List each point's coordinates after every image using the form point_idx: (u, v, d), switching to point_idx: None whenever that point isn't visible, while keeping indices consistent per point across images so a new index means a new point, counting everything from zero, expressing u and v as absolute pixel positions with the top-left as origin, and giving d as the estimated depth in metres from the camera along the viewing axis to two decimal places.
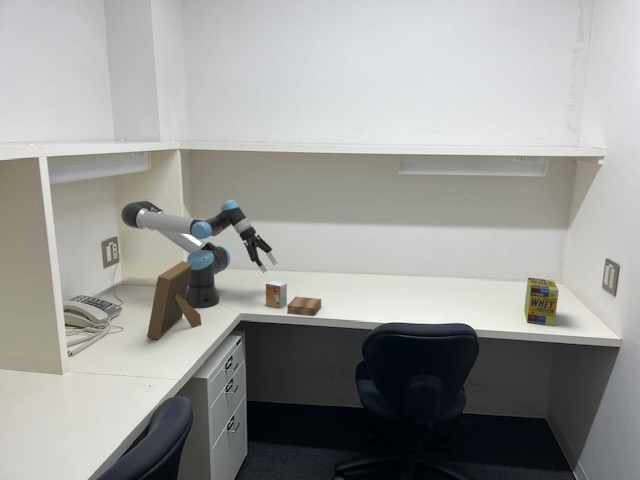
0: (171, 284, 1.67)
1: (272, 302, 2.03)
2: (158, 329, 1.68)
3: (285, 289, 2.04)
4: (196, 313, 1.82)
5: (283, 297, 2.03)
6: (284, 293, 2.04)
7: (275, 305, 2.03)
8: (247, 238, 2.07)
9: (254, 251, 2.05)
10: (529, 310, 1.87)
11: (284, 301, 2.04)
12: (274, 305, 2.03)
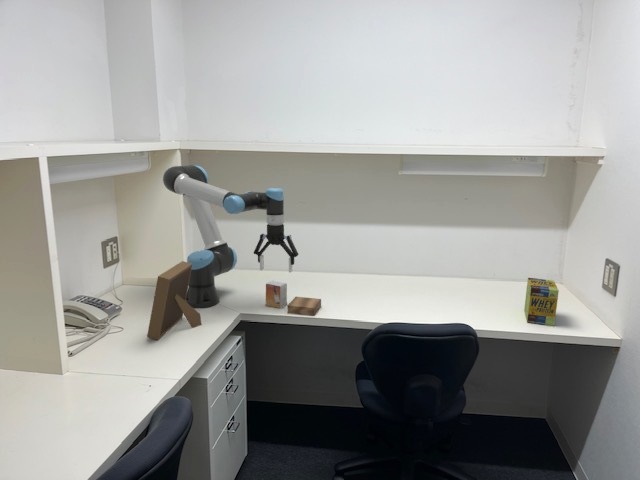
0: (171, 284, 1.67)
1: (272, 302, 2.03)
2: (158, 329, 1.68)
3: (285, 289, 2.04)
4: (196, 313, 1.82)
5: (283, 297, 2.03)
6: (284, 293, 2.04)
7: (275, 305, 2.03)
8: None
9: (263, 247, 2.01)
10: (529, 310, 1.87)
11: (284, 301, 2.04)
12: (274, 305, 2.03)
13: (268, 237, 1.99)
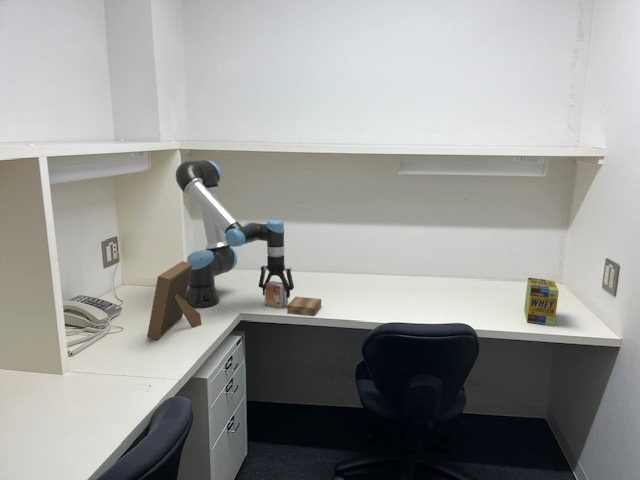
0: (171, 284, 1.67)
1: (272, 302, 2.03)
2: (158, 329, 1.68)
3: (285, 289, 2.04)
4: (196, 313, 1.82)
5: (283, 297, 2.03)
6: None
7: (275, 305, 2.03)
8: None
9: (266, 280, 2.04)
10: (529, 310, 1.87)
11: (284, 301, 2.04)
12: (274, 305, 2.03)
13: (269, 268, 2.02)
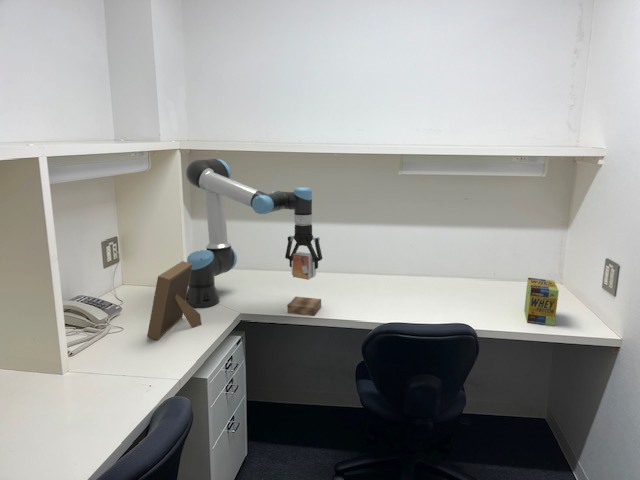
0: (171, 284, 1.67)
1: (299, 274, 1.95)
2: (158, 329, 1.68)
3: (313, 260, 1.95)
4: (196, 313, 1.82)
5: (311, 268, 1.95)
6: (312, 264, 1.95)
7: (303, 276, 1.94)
8: None
9: (293, 250, 1.96)
10: (529, 310, 1.87)
11: (312, 272, 1.96)
12: (302, 276, 1.95)
13: (296, 238, 1.94)
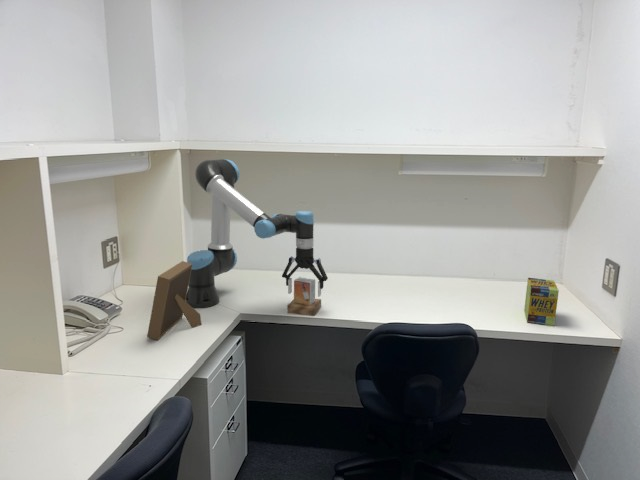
0: (171, 284, 1.67)
1: (300, 299, 1.97)
2: (158, 329, 1.68)
3: (314, 285, 1.98)
4: (196, 313, 1.82)
5: (312, 294, 1.97)
6: (313, 290, 1.98)
7: (304, 302, 1.97)
8: None
9: None
10: (529, 310, 1.87)
11: (313, 298, 1.98)
12: (303, 302, 1.97)
13: (297, 260, 1.96)
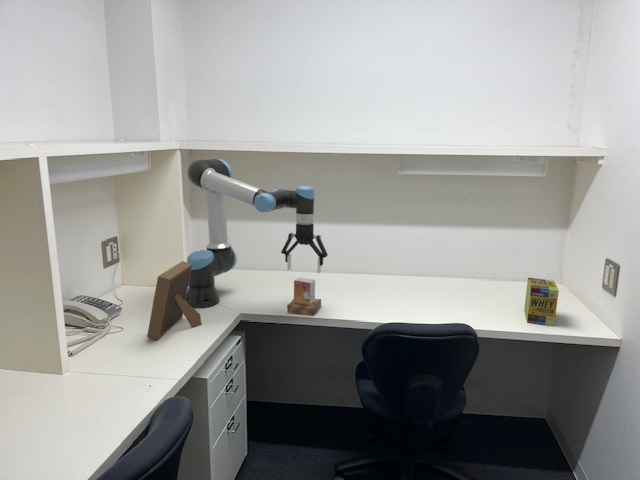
0: (171, 284, 1.67)
1: (300, 300, 1.97)
2: (158, 329, 1.68)
3: (314, 285, 1.98)
4: (196, 313, 1.82)
5: (312, 294, 1.97)
6: (313, 290, 1.98)
7: (304, 302, 1.96)
8: None
9: (291, 246, 1.96)
10: (529, 310, 1.87)
11: (313, 298, 1.98)
12: (303, 302, 1.97)
13: (297, 236, 1.93)
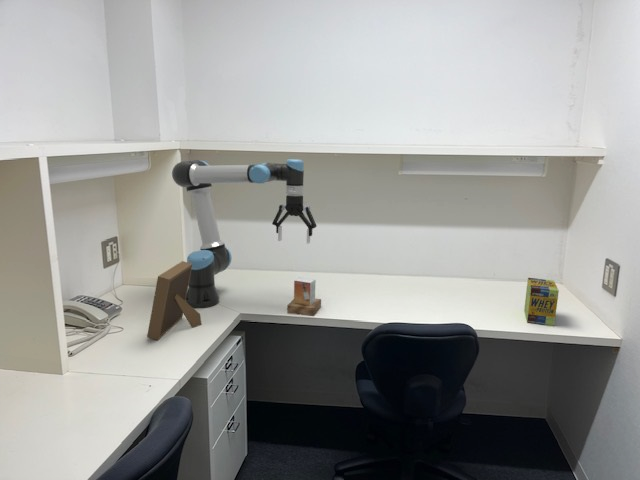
0: (171, 284, 1.67)
1: (300, 300, 1.97)
2: (158, 329, 1.68)
3: (314, 286, 1.98)
4: (196, 313, 1.82)
5: (312, 294, 1.97)
6: (313, 290, 1.98)
7: (304, 302, 1.96)
8: None
9: (281, 218, 2.03)
10: (529, 310, 1.87)
11: (313, 298, 1.98)
12: (303, 302, 1.97)
13: (287, 208, 2.01)
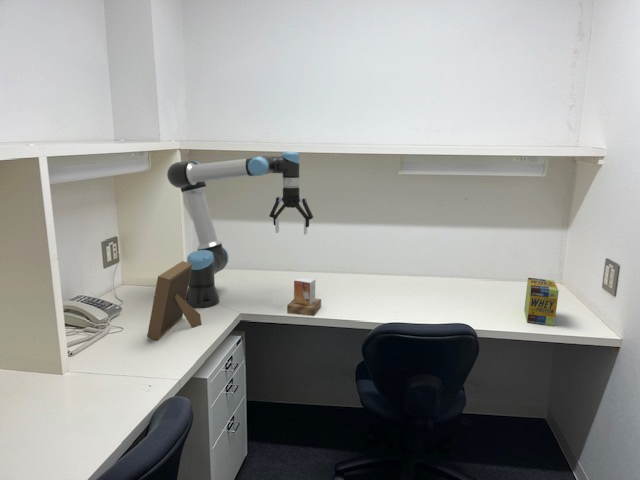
0: (171, 284, 1.67)
1: (300, 299, 1.97)
2: (158, 329, 1.68)
3: (314, 285, 1.98)
4: (196, 313, 1.82)
5: (312, 294, 1.97)
6: (313, 290, 1.98)
7: (304, 302, 1.97)
8: None
9: (278, 210, 2.06)
10: (529, 310, 1.87)
11: (313, 298, 1.98)
12: (303, 302, 1.97)
13: (284, 200, 2.04)
